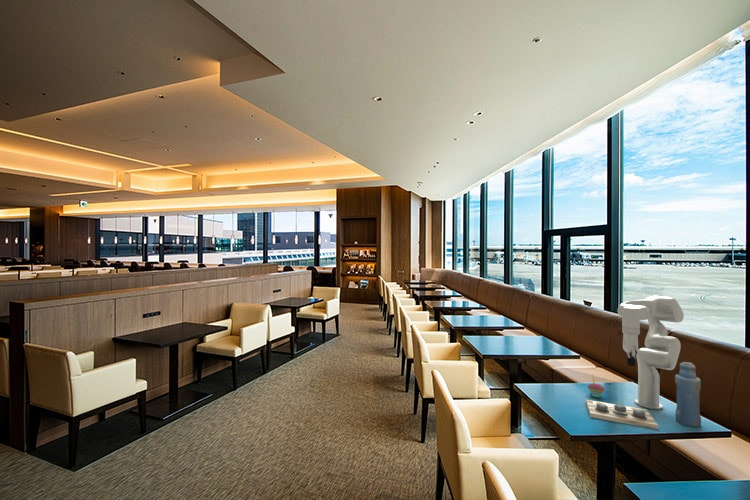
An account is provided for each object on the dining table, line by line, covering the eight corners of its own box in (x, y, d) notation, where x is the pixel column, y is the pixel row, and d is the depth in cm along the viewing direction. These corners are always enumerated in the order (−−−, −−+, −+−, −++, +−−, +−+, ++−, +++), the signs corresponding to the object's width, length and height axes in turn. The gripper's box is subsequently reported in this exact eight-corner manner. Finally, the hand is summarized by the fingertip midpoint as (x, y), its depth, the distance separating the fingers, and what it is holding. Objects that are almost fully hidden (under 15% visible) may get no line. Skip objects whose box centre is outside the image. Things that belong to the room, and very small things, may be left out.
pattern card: (592, 401, 199) (592, 400, 199) (640, 409, 190) (640, 408, 190) (593, 404, 195) (593, 404, 195) (642, 413, 185) (642, 412, 185)
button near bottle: (631, 412, 184) (632, 408, 184) (643, 414, 182) (643, 410, 182) (634, 416, 179) (634, 412, 179) (646, 418, 177) (646, 414, 177)
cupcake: (587, 396, 212) (587, 375, 212) (588, 392, 219) (588, 372, 219) (604, 399, 207) (604, 379, 208) (604, 395, 214) (605, 375, 215)
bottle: (703, 429, 173) (703, 367, 174) (677, 424, 178) (677, 363, 179) (697, 421, 181) (698, 362, 182) (672, 417, 186) (673, 359, 187)
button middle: (613, 407, 187) (613, 403, 187) (625, 409, 185) (625, 405, 185) (615, 411, 183) (615, 407, 183) (627, 413, 181) (627, 409, 181)
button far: (595, 406, 191) (595, 402, 191) (606, 408, 189) (606, 404, 189) (597, 410, 186) (597, 406, 186) (608, 412, 184) (608, 408, 184)
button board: (585, 403, 202) (585, 399, 202) (646, 413, 190) (646, 409, 190) (590, 417, 183) (590, 412, 184) (657, 429, 172) (657, 424, 172)
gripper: (618, 327, 196) (619, 360, 196) (626, 332, 182) (626, 368, 182) (635, 328, 193) (635, 362, 193) (643, 334, 179) (644, 370, 179)
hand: (631, 365), depth 187 cm, fingers closed
